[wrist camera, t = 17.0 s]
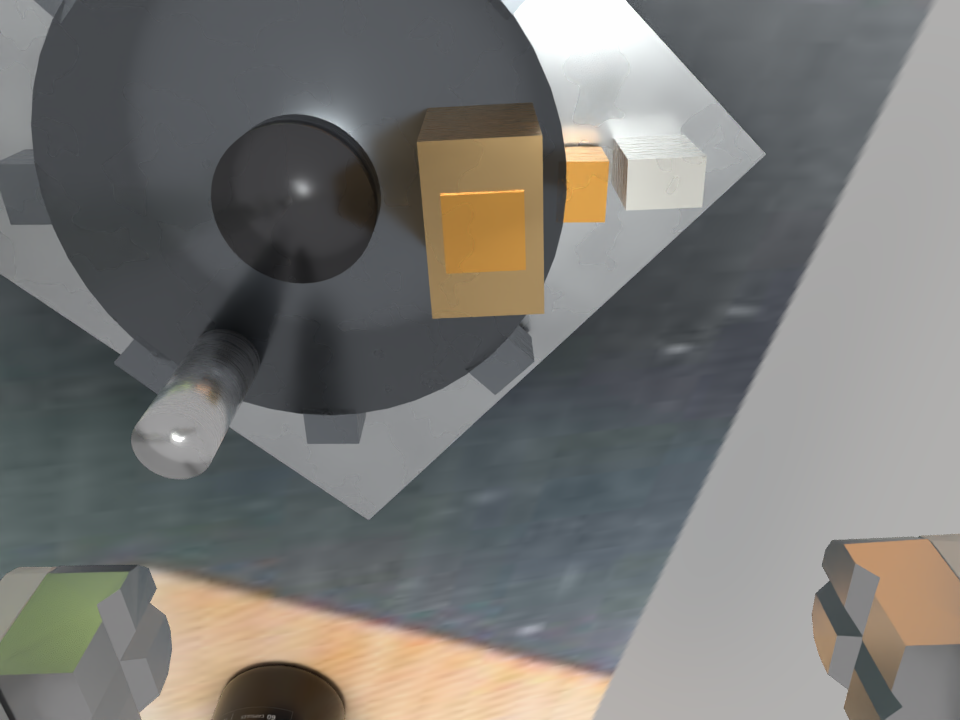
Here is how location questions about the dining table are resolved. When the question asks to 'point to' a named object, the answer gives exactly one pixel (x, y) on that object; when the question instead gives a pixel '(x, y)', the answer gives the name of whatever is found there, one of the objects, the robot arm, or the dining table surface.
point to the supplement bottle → (278, 696)
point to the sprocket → (275, 200)
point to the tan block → (483, 209)
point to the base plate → (580, 253)
